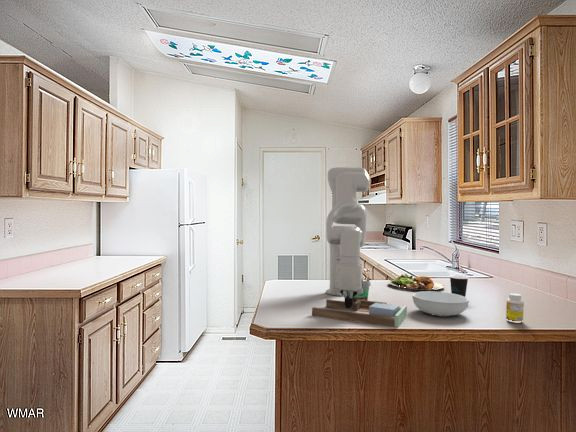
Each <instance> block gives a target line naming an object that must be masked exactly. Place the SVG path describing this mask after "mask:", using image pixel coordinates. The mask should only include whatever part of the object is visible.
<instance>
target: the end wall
mask: <svg viewBox="0 0 576 432" xmlns="http://www.w3.org/2000/svg"><path fill="white" fill-rule="evenodd" d="M400 308H401V309H400V310H399V311H398V312H397V314H396V315H395V328H399V327H400V326H401V324H402V323H403V322H404V320H405V319H406V318H407V317H408V316H407V313H408V306H407V305H403V306H402V307H400ZM406 316H407V317H406ZM405 317H406V318H405ZM404 318H405V319H404ZM402 321H403V322H402ZM401 322H402V323H401Z"/></svg>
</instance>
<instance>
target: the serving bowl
mask: <svg viewBox="0 0 576 432" xmlns="http://www.w3.org/2000/svg"><path fill="white" fill-rule="evenodd" d="M412 301H413V304H414V306H415V307H416V308H417V309H418V310H420V311H422V312H424V313H426V314H429V315H431V314H434V315H433V316H435V315H441V316H440V317H452V316H456V315H460V314H462V313H463V312H465V311H466V310H467V308H468V307H469V303H470V299H469V298H468V297H466V296H465V297H464V296H461V295H457V294H452V293H451V292H445V291H435V290H434V291H433V290H422V291H417V292H414V293H412ZM451 315H452V316H451Z"/></svg>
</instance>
